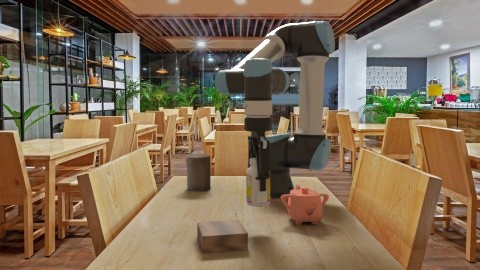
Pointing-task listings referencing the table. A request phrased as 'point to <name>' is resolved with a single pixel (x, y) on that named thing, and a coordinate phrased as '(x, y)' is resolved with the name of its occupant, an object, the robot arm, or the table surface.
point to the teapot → (304, 205)
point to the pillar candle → (198, 172)
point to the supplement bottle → (254, 185)
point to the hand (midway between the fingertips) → (258, 198)
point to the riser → (222, 236)
